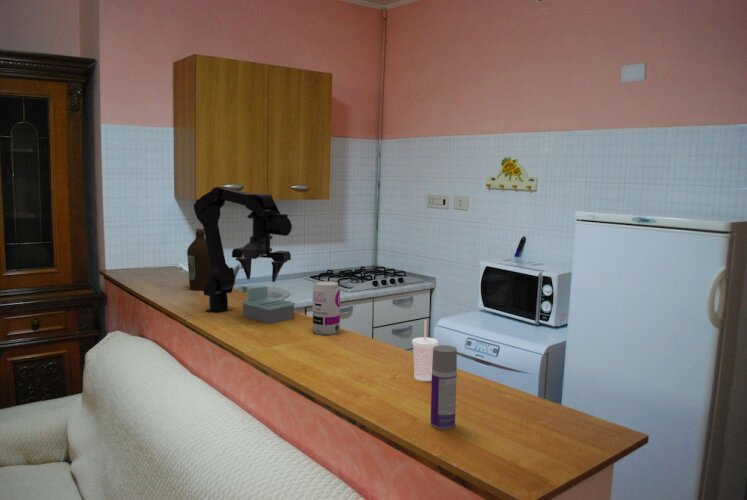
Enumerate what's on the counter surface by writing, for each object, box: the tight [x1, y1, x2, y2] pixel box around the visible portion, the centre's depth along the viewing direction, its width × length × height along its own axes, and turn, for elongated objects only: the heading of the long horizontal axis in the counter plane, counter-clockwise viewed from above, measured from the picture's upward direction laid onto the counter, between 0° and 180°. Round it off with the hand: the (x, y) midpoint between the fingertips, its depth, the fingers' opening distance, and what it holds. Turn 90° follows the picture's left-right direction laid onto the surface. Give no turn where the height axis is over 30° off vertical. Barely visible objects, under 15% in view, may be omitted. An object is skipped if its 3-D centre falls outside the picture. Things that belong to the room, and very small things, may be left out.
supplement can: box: [312, 280, 341, 336], centre depth 175 cm, size 8×8×15 cm
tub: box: [242, 304, 295, 325], centre depth 191 cm, size 14×10×5 cm
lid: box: [241, 285, 296, 310], centre depth 190 cm, size 14×10×6 cm
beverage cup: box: [411, 319, 439, 382], centre depth 136 cm, size 6×6×14 cm
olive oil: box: [186, 228, 211, 292], centre depth 239 cm, size 11×11×25 cm
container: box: [430, 344, 458, 431], centre depth 110 cm, size 5×5×15 cm
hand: (261, 280), depth 189 cm, fingers open, 9 cm apart
